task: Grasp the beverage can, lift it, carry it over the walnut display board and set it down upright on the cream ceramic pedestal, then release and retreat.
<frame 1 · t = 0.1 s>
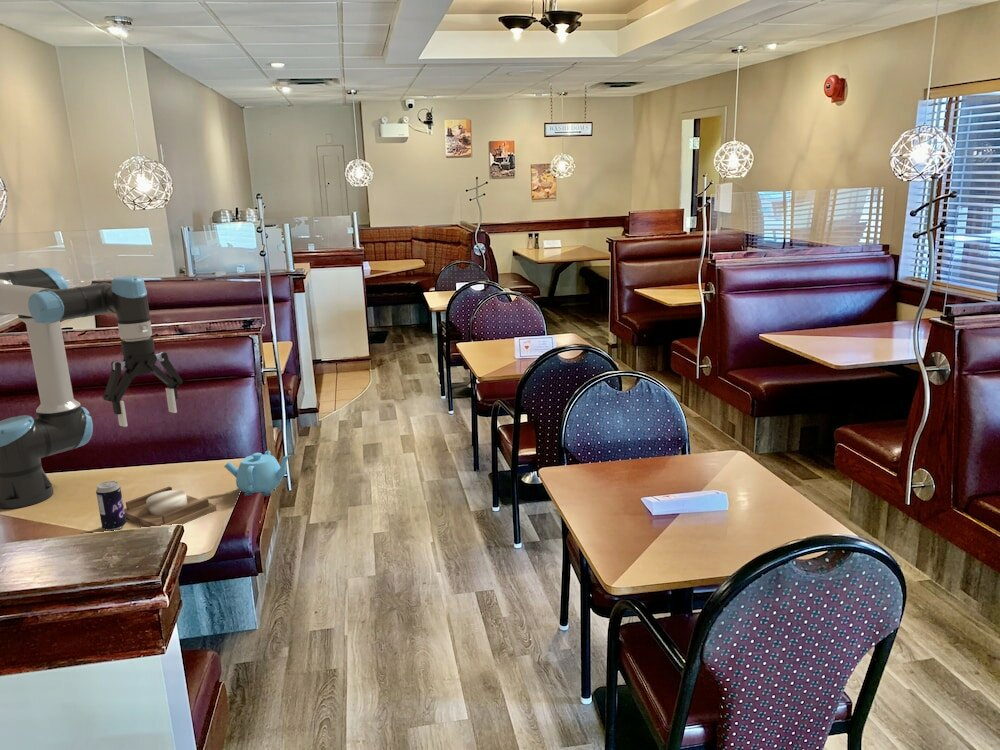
hand: (148, 418, 200), 28 cm above the table, fingers open, 13 cm apart
beverage can: (114, 528, 202), on the table
display stand: (168, 512, 210), on the table
teapot: (261, 490, 224), on the table
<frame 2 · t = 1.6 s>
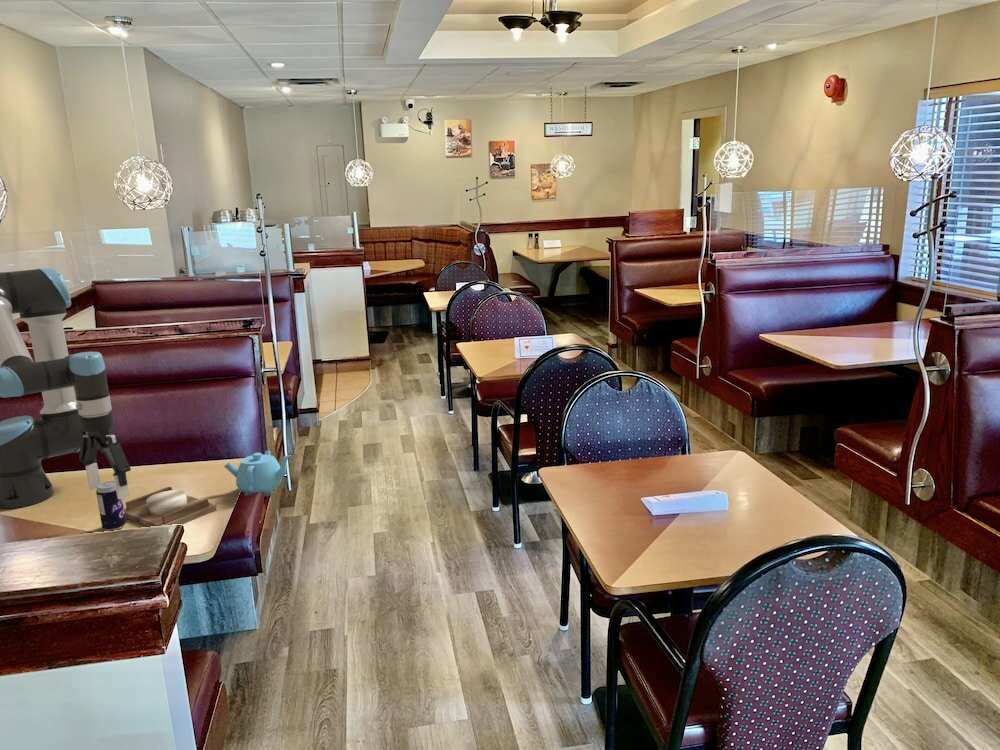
hand: (109, 492, 200), 10 cm above the table, fingers open, 13 cm apart
nothing on the table moved.
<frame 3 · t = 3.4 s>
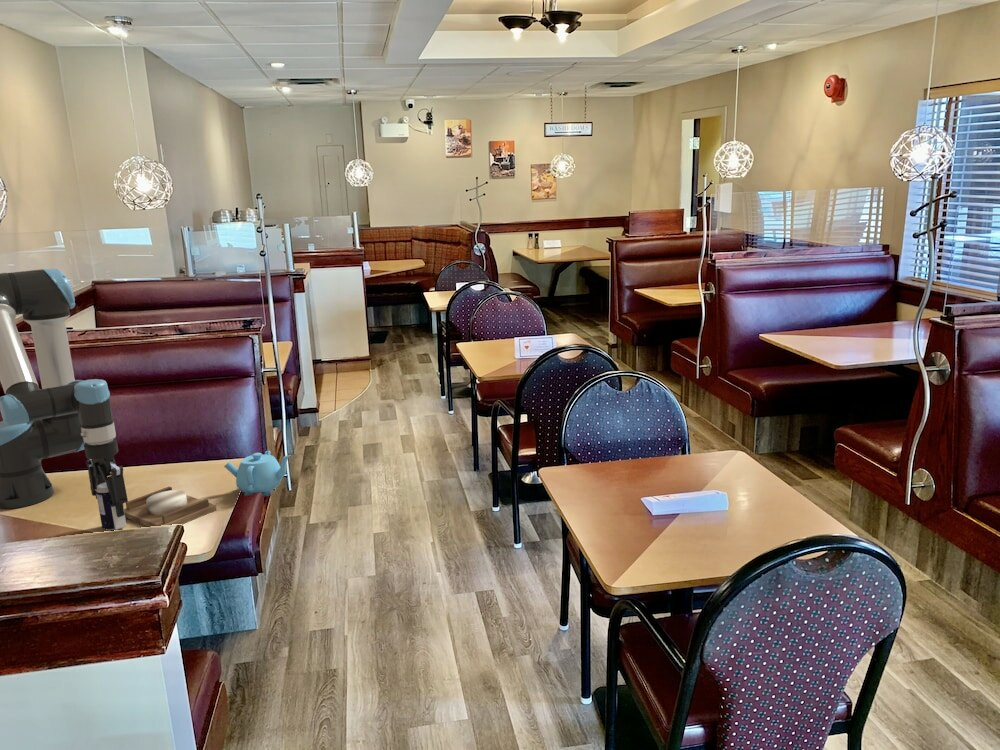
hand: (114, 524, 202), 1 cm above the table, fingers closed on beverage can, 6 cm apart
beverage can: (114, 528, 202), on the table, touching gripper
everything else where it was.
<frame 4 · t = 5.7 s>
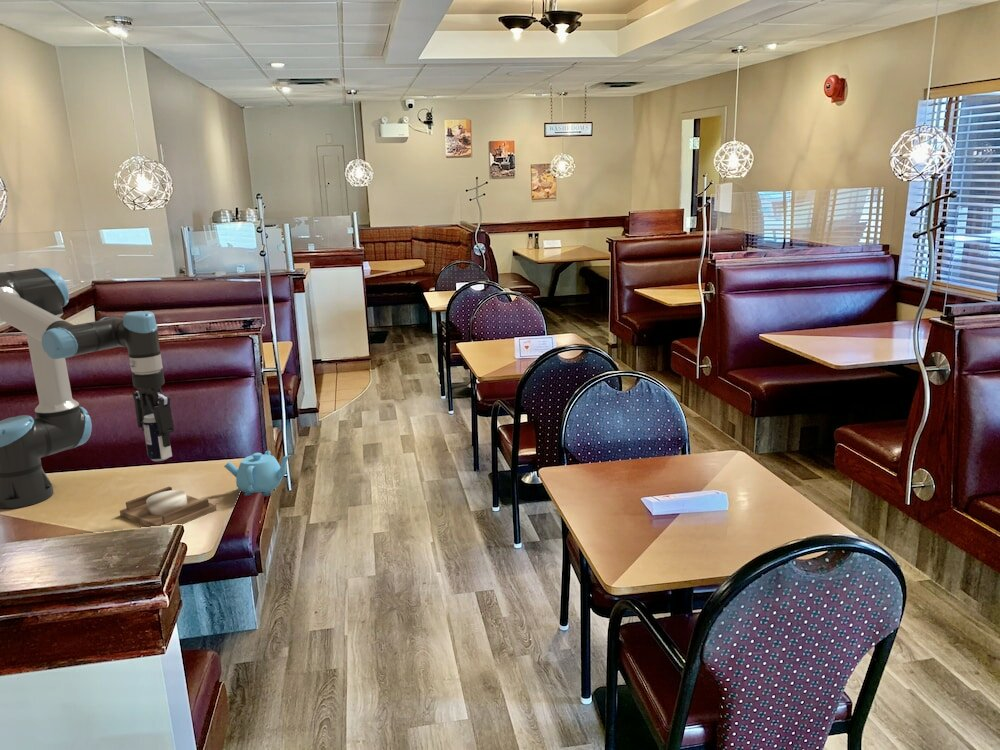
hand: (159, 455, 206), 17 cm above the table, fingers closed on beverage can, 6 cm apart
beverage can: (160, 459, 207), point 15 cm above the table, touching gripper
everything else where it was.
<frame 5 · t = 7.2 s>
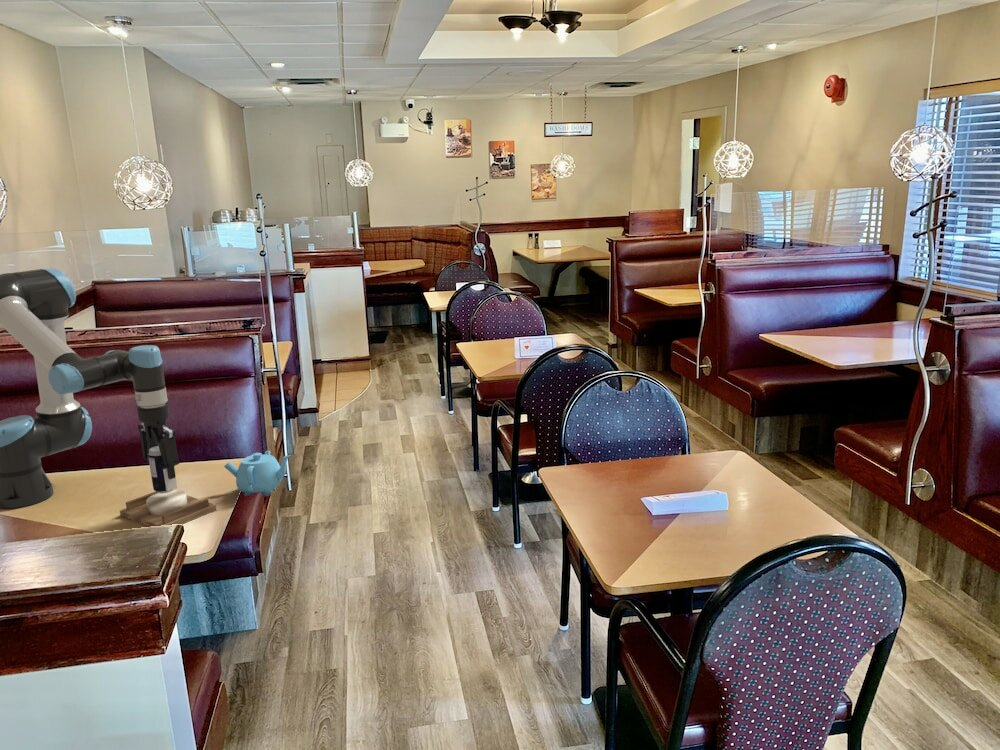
hand: (164, 487, 209), 8 cm above the table, fingers closed on beverage can, 6 cm apart
beverage can: (165, 491, 209), point 6 cm above the table, touching gripper
everything else where it was.
when the fingers open (7 cm above the table, at t = 8.1 s): beverage can drops 1 cm, resting on display stand.
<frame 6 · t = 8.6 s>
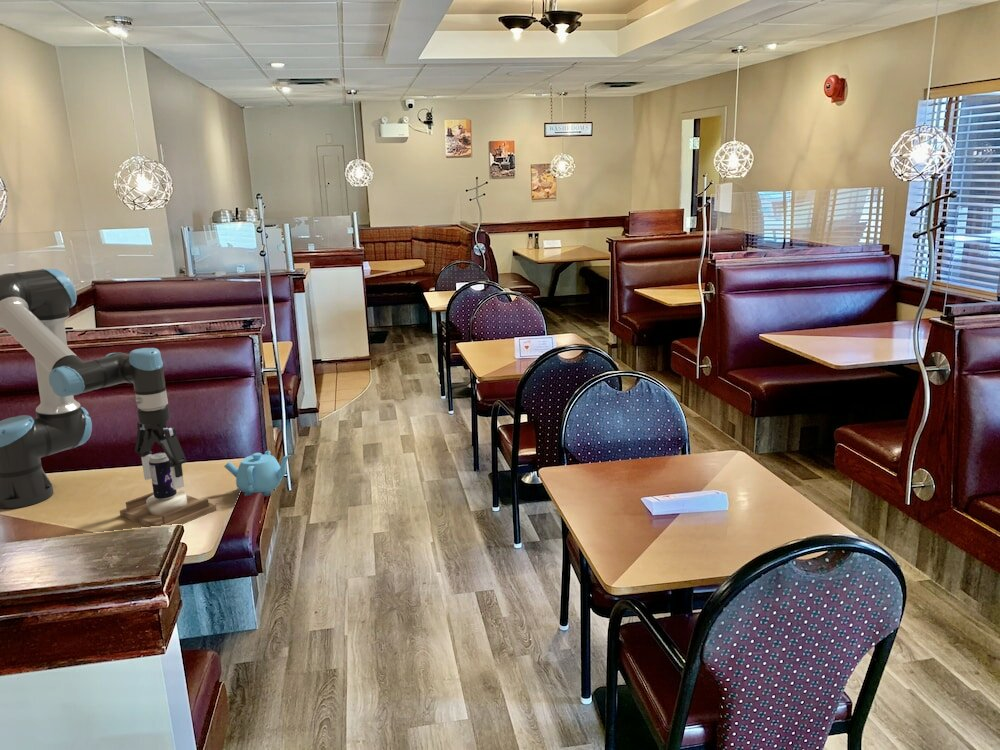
hand: (164, 483, 208), 9 cm above the table, fingers open, 13 cm apart
beverage can: (166, 498, 209), point 4 cm above the table, touching display stand
everything else where it was.
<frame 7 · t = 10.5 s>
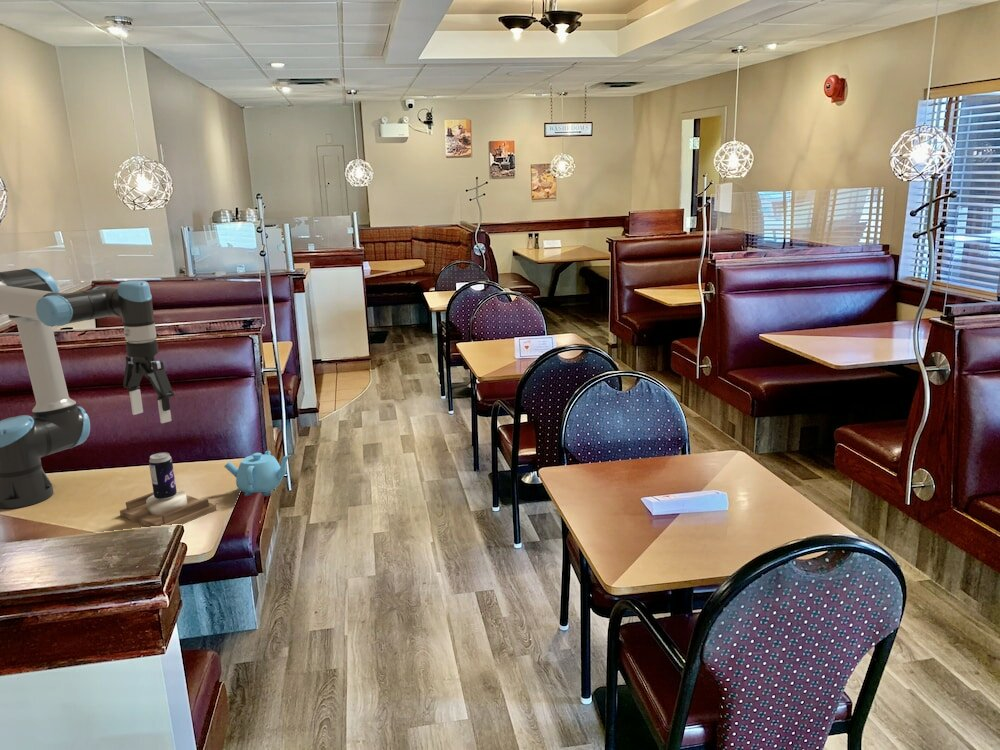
hand: (151, 417, 208), 26 cm above the table, fingers open, 13 cm apart
nothing on the table moved.
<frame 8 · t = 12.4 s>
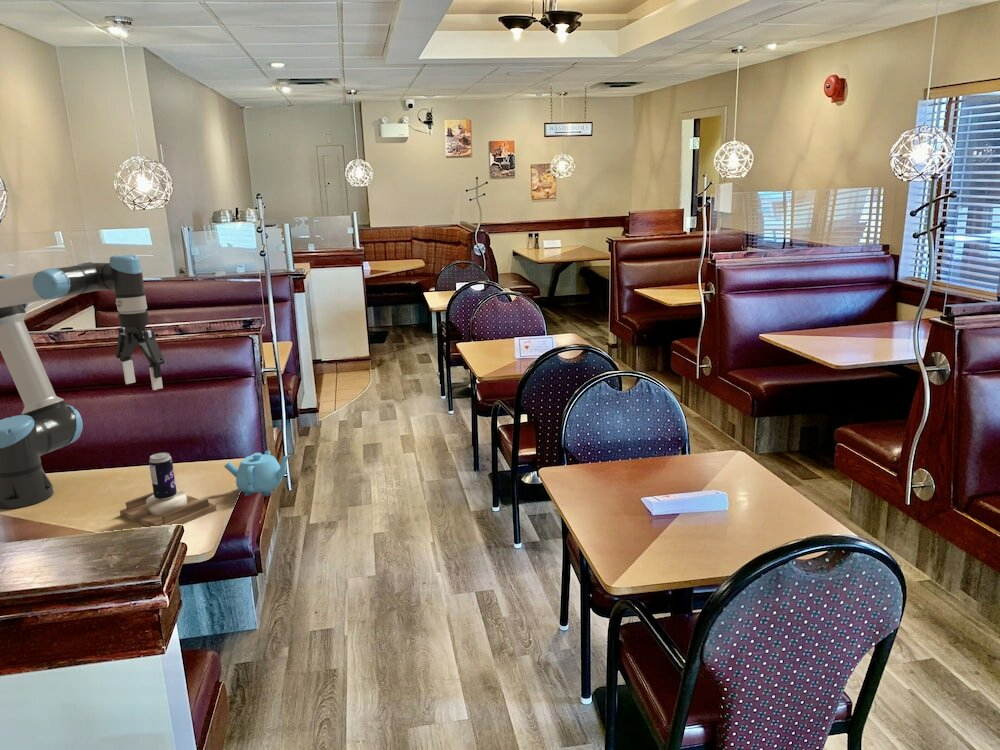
hand: (143, 386, 219), 32 cm above the table, fingers open, 13 cm apart
nothing on the table moved.
at the end: beverage can inside the target area on the display stand (0.1 cm from its centre), point 4.3 cm above the display stand's base; beverage can tilted 0°; beverage can touching display stand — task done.
